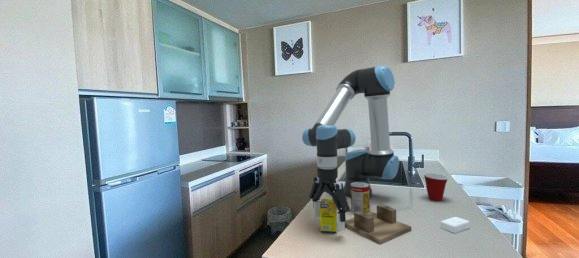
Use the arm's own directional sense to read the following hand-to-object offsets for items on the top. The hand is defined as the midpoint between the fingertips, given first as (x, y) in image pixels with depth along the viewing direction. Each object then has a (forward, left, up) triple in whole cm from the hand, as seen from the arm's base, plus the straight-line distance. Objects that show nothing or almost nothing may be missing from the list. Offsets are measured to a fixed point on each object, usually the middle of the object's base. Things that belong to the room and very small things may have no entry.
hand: (328, 223), depth 97 cm
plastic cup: (+5, +63, -3) cm, 63 cm away
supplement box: (0, 0, -3) cm, 3 cm away
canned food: (-6, +23, -3) cm, 24 cm away
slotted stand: (+9, +15, -2) cm, 18 cm away
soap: (+26, +38, -3) cm, 46 cm away
